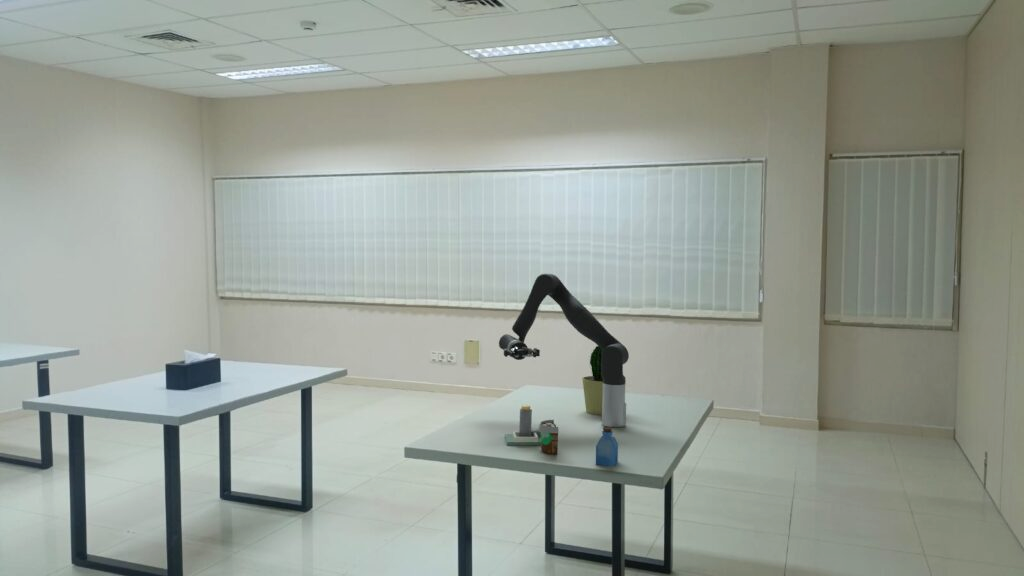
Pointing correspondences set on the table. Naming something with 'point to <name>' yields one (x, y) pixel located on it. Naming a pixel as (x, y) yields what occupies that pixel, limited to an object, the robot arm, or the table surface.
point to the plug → (525, 421)
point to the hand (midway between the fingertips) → (524, 354)
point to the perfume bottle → (607, 448)
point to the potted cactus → (594, 384)
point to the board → (524, 438)
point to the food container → (549, 437)
